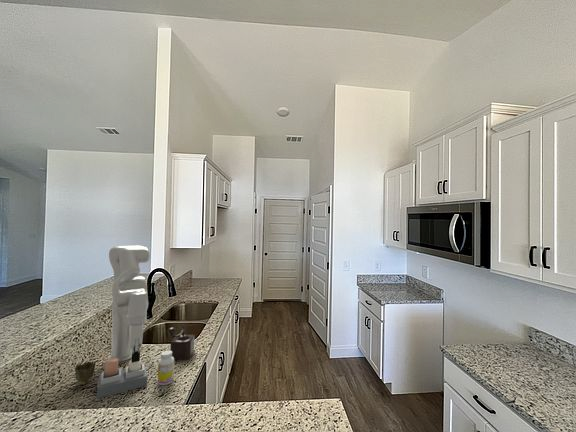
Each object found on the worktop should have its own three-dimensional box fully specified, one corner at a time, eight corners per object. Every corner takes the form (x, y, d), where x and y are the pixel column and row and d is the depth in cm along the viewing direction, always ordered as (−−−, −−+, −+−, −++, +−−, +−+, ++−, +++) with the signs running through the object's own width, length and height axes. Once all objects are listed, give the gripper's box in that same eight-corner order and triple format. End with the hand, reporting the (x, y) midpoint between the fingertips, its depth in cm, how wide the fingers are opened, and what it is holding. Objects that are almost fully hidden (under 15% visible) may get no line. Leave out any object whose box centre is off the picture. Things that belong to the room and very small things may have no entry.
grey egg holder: (99, 384, 119) (99, 370, 119) (144, 373, 128) (145, 360, 129) (96, 398, 109) (97, 383, 109) (146, 385, 118) (147, 371, 118)
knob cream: (128, 371, 122) (129, 360, 122) (140, 368, 124) (141, 357, 125) (128, 376, 118) (129, 364, 118) (141, 373, 120) (141, 361, 121)
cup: (92, 377, 124) (92, 359, 125) (97, 383, 120) (98, 364, 120) (71, 384, 119) (72, 365, 119) (76, 390, 114) (77, 371, 114)
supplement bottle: (162, 377, 125) (163, 349, 125) (176, 377, 124) (177, 349, 125) (154, 385, 118) (155, 355, 119) (169, 386, 118) (170, 356, 118)
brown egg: (105, 371, 117) (105, 359, 117) (118, 368, 120) (118, 357, 120) (104, 376, 113) (105, 364, 113) (117, 373, 116) (118, 361, 116)
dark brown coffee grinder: (174, 351, 151) (175, 319, 152) (194, 351, 152) (195, 318, 154) (164, 365, 136) (165, 329, 137) (187, 364, 137) (188, 328, 138)
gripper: (127, 316, 127) (125, 356, 125) (127, 326, 114) (126, 370, 113) (145, 314, 131) (143, 353, 129) (147, 322, 118) (146, 365, 117)
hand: (135, 361), depth 121 cm, fingers closed
